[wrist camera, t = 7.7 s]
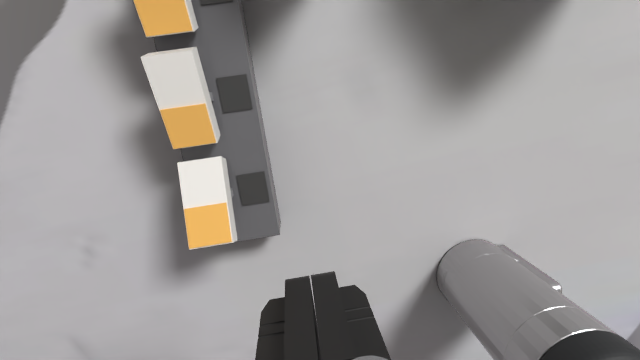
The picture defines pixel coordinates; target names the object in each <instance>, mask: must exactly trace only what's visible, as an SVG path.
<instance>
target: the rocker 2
mask: <svg viewBox="0 0 640 360" xmlns="http://www.w3.org/2000/svg"><path fill="white" fill-rule="evenodd" d="M141 60H142V63H143V66H144V69H145V71H146V74H147V77H148V80H149V83H150V86H151V88H152V91H153V94H154V97H155V100H156V103H157V105H158V108H159V111H160V114H161V117H162V120H163V122H164V125H165V128H166V131H167V134H168V137H169V139H170V142H171V145H172V148H173V149H180V148H187V147H193V146H200V145H207V144H214V143H218V140H219V138H220V131H219V127H218V124H217V120H216V116H215V113H214V109H213V105H212V102H211V98H210V94H209V91H208V87H207V83H206V80H205V76H204V72H203V69H202V65H201V61H200V58H199V54H198V50H197V47H190V48H183V49H175V50H168V51H160V52H153V53H148V54H146V55H143V56H141Z"/></svg>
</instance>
